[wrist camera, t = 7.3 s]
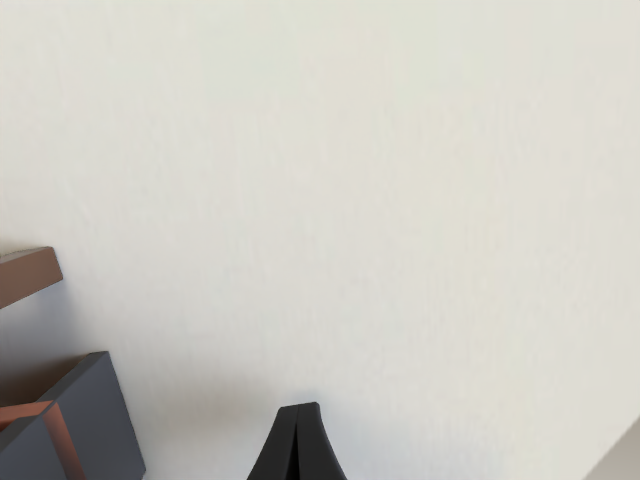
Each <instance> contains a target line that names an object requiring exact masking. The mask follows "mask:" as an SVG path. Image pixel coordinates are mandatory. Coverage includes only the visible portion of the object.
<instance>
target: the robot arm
mask: <svg viewBox="0 0 640 480" xmlns="http://www.w3.org/2000/svg"><path fill="white" fill-rule="evenodd" d="M247 480H347V479H346V477H345V475H344V473H343V471H342V469H341V467H340V465H339V463H338V461H337V458H336V456H335V454H334V452H333V449H332V447H331V445H330V442H329V440H328V437H327V435H326V432H325V429H324V426H323V423H322V419H321V413H320V407H319V404H318V403H316V402H312V403H305V404H298V405H292V406H285V407H281V408H280V409H279V410H278V413H277V416H276V418H275V421H274V423H273V426H272V428H271V431H270V433H269V435H268V438H267V440H266V442H265V444H264V446H263V449H262V451H261V453H260V455H259V457H258V459H257V461H256V463H255V465H254V467H253V469H252V471H251V473H250V474H249V476H248V478H247Z"/></svg>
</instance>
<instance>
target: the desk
mask: <svg viewBox="0 0 640 480" xmlns="http://www.w3.org/2000/svg"><path fill="white" fill-rule="evenodd" d="M62 279H63V277H62V274H61V271H60V268H59V265H58V262H57V259H56V256H55V253H54V250H53V248H52V247H45V248H38V249H30V250H23V251H17V252H13V253H10V254H7V255H4V256H0V309H2V308H4V307H6V306H8V305H10V304H12V303H14V302H16V301H18V300H20V299H23V298H25V297H27V296H29V295H31V294H33V293H35V292H37V291H39V290H41V289H43V288H46V287H48V286H50V285H52V284H54V283H56V282H58V281H60V280H62Z"/></svg>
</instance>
